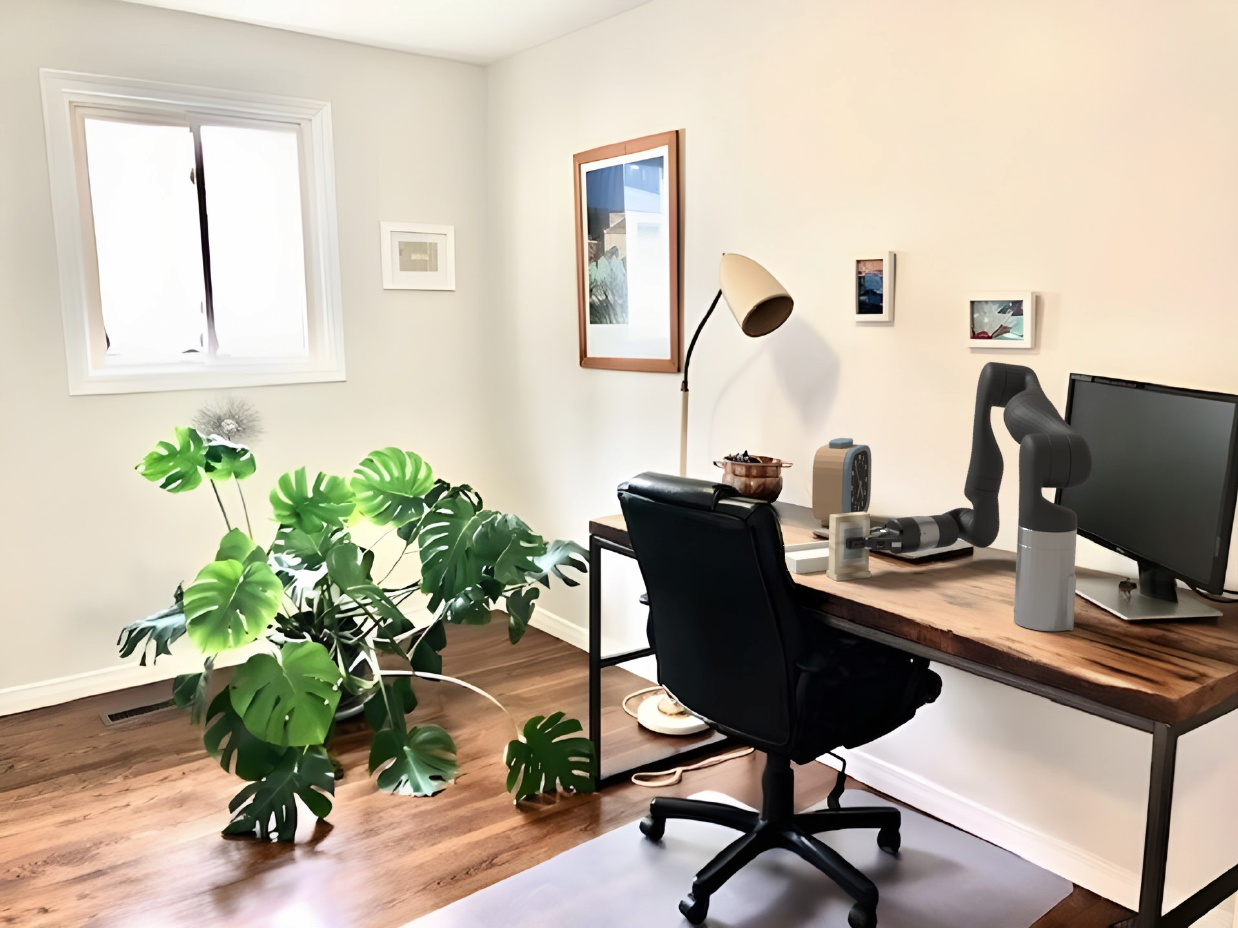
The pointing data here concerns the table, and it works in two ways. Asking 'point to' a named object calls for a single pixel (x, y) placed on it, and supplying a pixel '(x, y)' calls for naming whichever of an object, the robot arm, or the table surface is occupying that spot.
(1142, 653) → the table surface
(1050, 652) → the table surface
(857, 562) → the frame
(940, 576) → the table surface
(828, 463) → the alarm clock
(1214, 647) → the table surface
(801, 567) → the white rectangular block
